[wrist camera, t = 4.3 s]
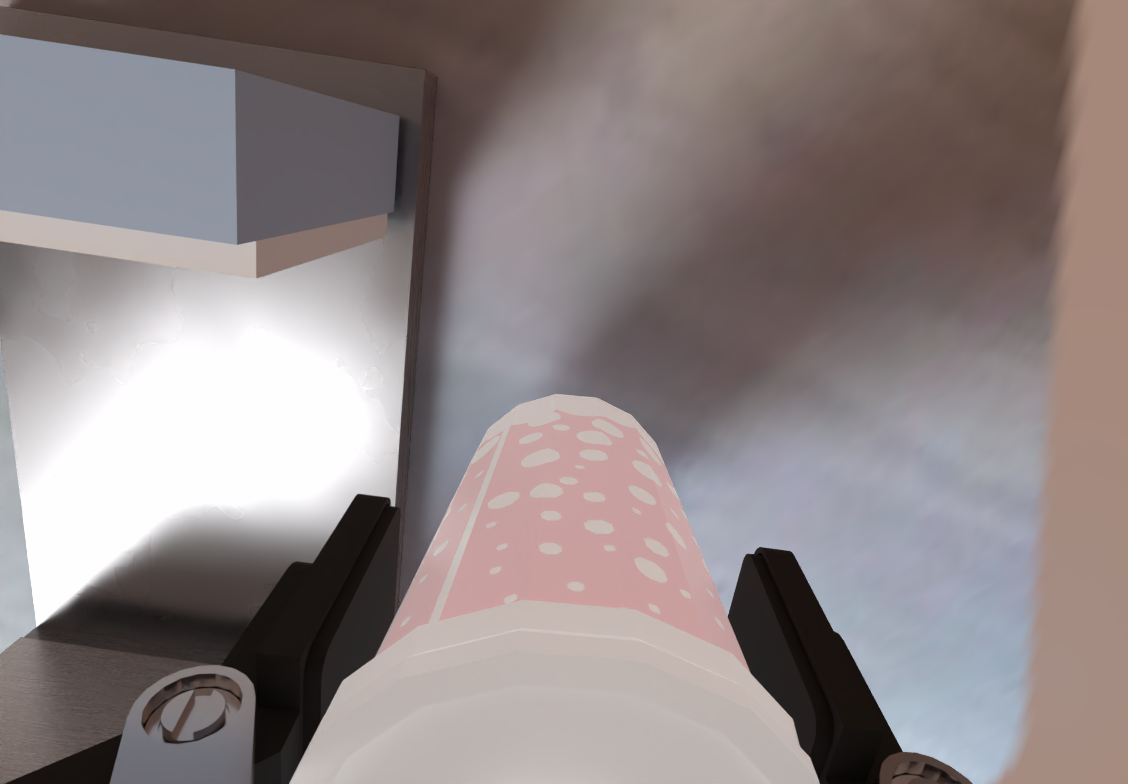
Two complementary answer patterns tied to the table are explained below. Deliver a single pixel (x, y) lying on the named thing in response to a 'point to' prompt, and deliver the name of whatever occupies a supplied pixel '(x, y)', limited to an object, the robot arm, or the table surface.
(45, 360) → the vise base
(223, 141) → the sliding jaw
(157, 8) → the table surface
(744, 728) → the beverage cup
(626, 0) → the table surface
